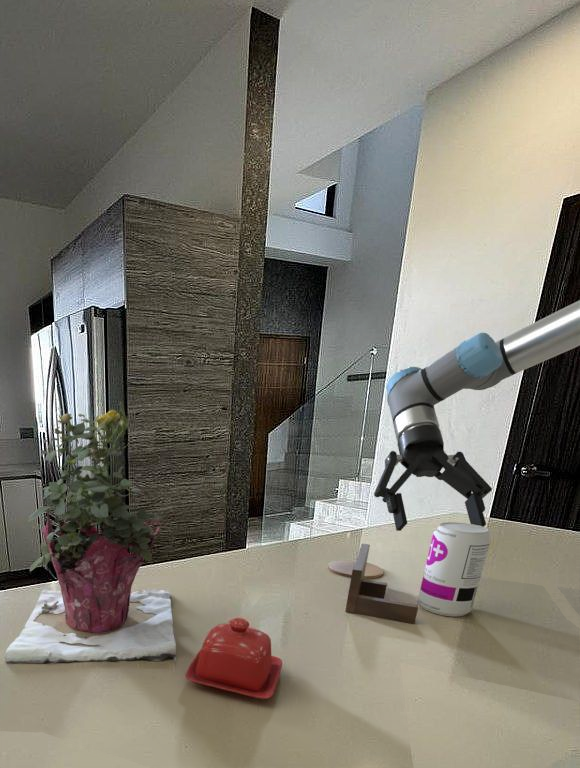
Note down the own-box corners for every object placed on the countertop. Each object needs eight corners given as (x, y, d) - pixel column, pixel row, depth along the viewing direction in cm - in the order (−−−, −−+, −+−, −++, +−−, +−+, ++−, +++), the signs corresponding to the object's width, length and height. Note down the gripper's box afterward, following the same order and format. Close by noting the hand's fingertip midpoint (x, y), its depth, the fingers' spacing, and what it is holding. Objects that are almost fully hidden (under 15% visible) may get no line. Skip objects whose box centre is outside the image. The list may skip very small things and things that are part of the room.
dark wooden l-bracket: (414, 589, 95) (423, 550, 92) (414, 624, 80) (424, 579, 77) (355, 580, 100) (361, 543, 97) (345, 611, 85) (352, 569, 82)
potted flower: (43, 593, 93) (28, 401, 81) (169, 594, 93) (174, 401, 80) (4, 662, 69) (-25, 402, 56) (176, 665, 68) (186, 401, 55)
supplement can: (423, 614, 84) (443, 531, 78) (412, 597, 91) (429, 520, 86) (477, 620, 81) (501, 535, 76) (461, 602, 89) (482, 523, 83)
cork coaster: (383, 566, 108) (384, 564, 107) (381, 582, 99) (381, 579, 98) (331, 559, 113) (332, 557, 112) (324, 573, 104) (324, 570, 103)
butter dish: (284, 665, 68) (291, 610, 65) (270, 709, 58) (277, 647, 55) (205, 648, 72) (208, 597, 69) (180, 687, 63) (182, 629, 60)
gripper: (471, 448, 98) (498, 538, 90) (347, 448, 100) (362, 536, 92) (495, 422, 92) (526, 517, 83) (361, 422, 93) (378, 515, 85)
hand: (440, 527), depth 87 cm, fingers open, 13 cm apart
